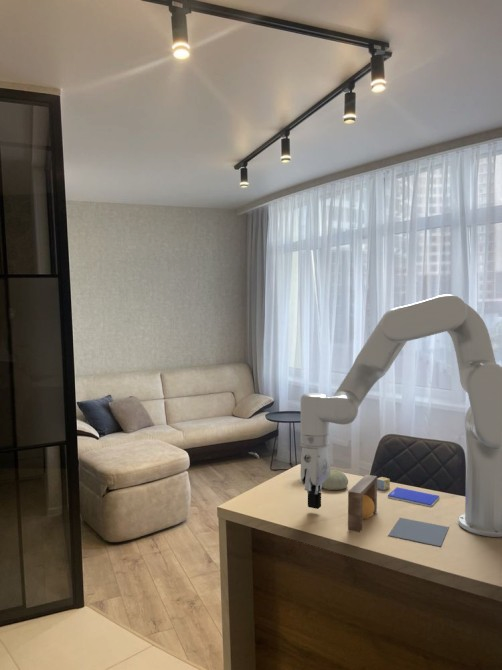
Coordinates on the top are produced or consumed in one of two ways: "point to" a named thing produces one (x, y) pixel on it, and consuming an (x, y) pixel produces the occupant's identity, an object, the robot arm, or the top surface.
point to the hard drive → (413, 496)
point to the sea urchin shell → (335, 481)
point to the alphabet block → (383, 483)
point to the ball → (367, 507)
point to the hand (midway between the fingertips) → (314, 506)
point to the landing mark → (419, 532)
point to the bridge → (360, 501)
